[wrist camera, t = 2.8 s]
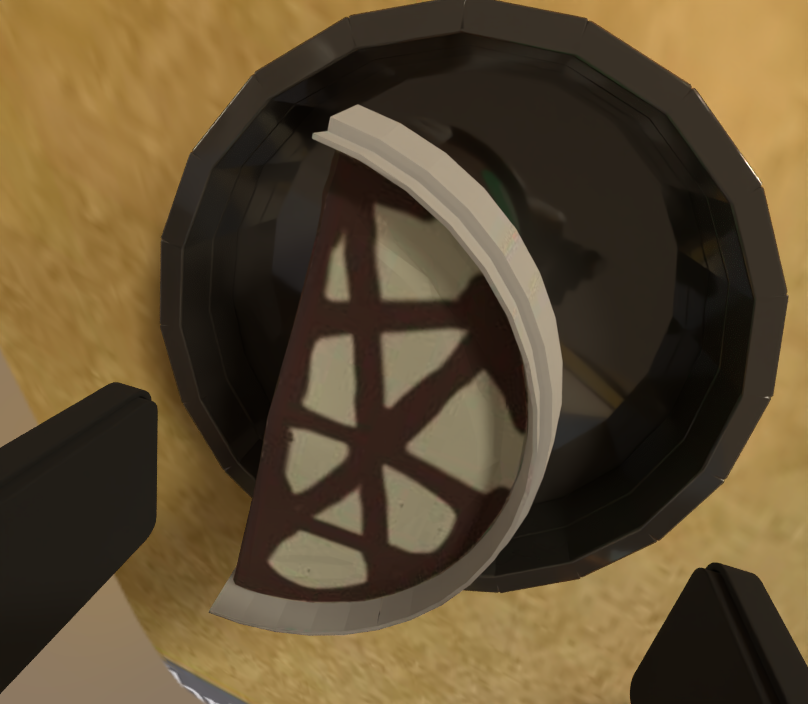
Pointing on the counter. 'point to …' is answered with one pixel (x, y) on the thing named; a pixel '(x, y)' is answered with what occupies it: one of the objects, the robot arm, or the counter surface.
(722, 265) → the bowl
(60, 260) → the counter surface
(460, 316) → the food container
